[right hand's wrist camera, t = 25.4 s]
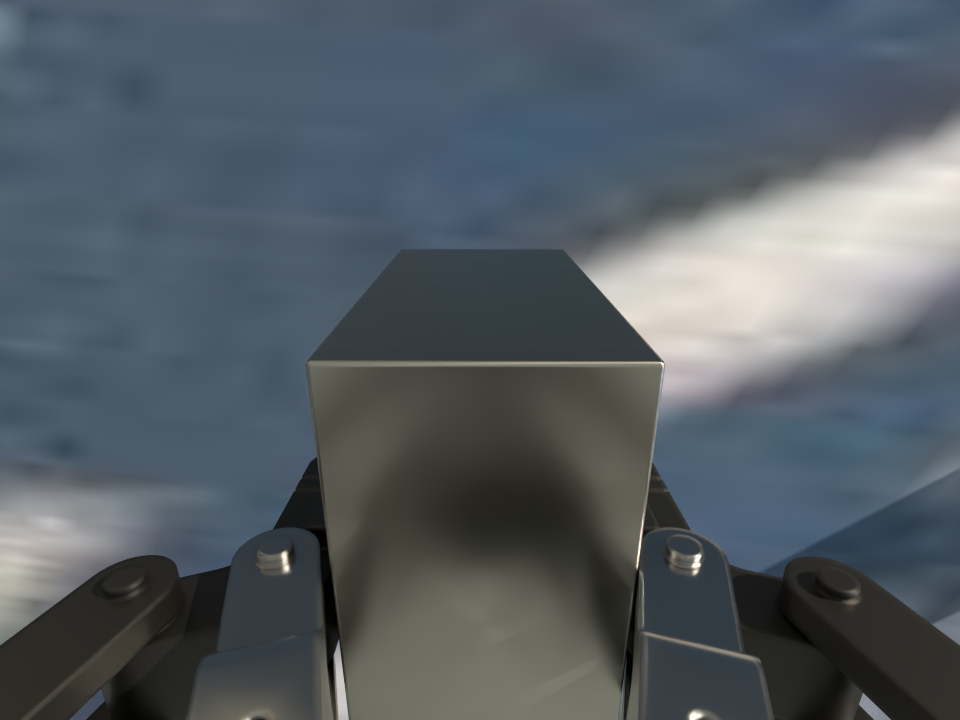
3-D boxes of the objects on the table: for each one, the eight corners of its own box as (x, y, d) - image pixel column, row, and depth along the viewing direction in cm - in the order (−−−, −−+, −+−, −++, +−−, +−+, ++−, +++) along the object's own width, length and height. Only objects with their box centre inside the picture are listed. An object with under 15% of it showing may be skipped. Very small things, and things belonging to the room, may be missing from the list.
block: (564, 249, 14) (667, 362, 6) (549, 508, 17) (608, 803, 9) (400, 249, 14) (302, 361, 6) (413, 508, 17) (357, 804, 9)
